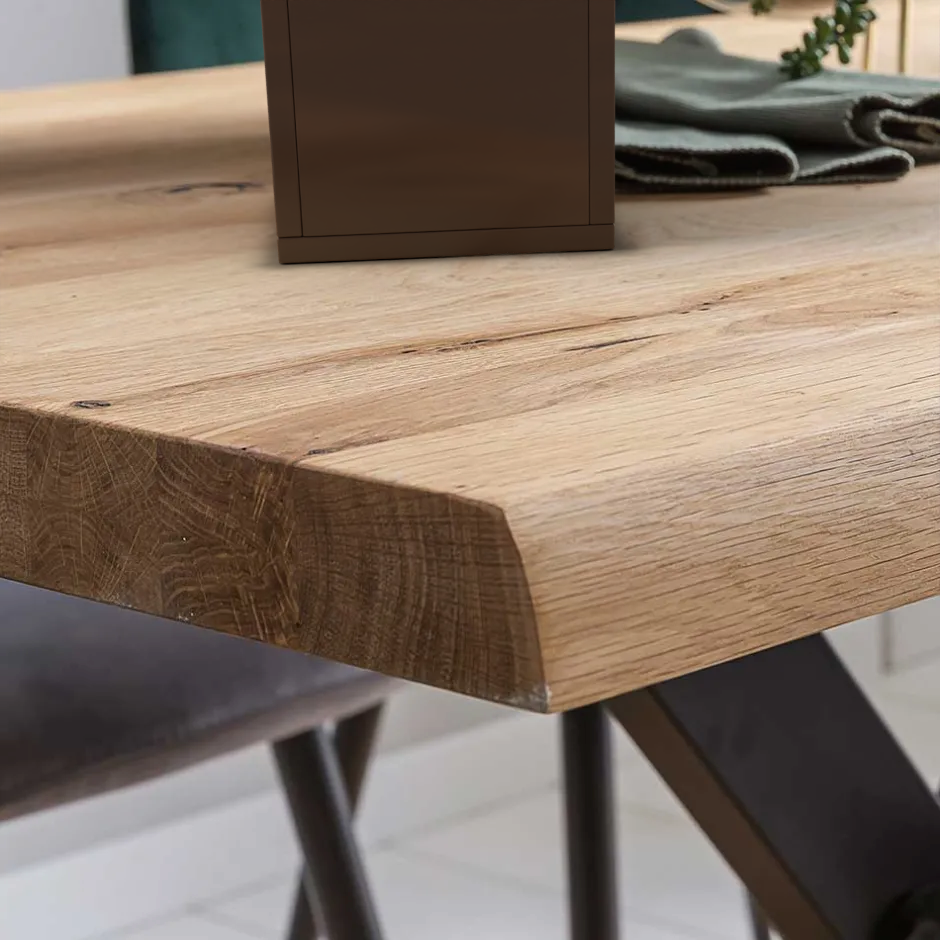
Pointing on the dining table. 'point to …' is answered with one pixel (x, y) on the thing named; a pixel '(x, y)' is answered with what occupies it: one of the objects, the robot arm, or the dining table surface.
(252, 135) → the dining table surface
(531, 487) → the dining table surface
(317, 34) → the cabinet
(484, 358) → the dining table surface
